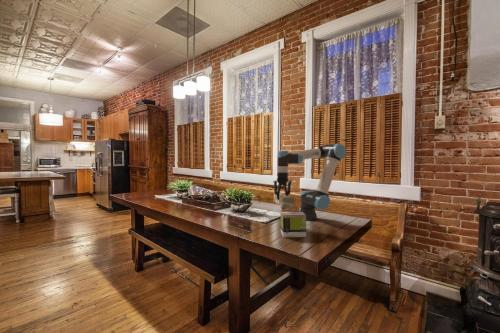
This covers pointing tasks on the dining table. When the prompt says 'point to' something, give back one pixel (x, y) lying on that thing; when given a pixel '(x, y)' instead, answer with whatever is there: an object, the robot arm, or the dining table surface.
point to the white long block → (284, 200)
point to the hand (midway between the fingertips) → (282, 204)
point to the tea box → (293, 224)
